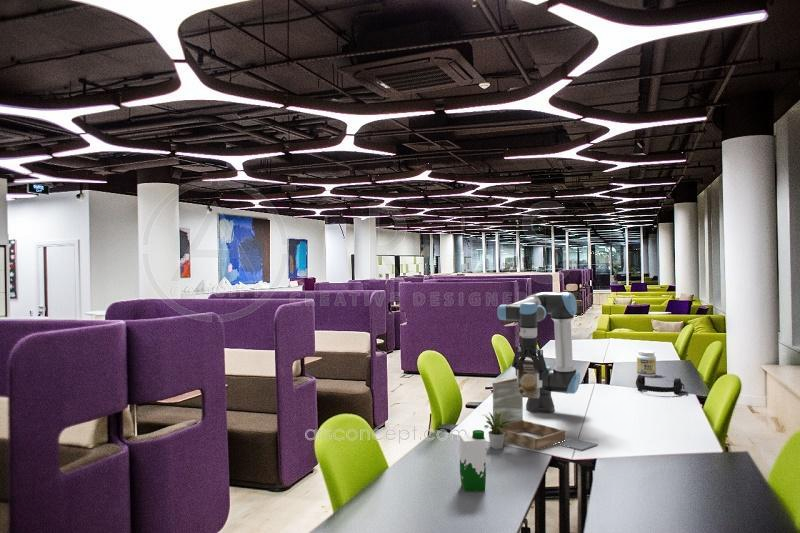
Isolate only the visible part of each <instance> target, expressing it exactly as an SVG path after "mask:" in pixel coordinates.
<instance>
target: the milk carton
mask: <svg viewBox="0 0 800 533" xmlns="http://www.w3.org/2000/svg"><path fill="white" fill-rule="evenodd" d="M486 447H487V442H486V438H485V431H484V430H482V429H481V430H480V429H475V430H472V434H469V433H468V434H460V435H459V476H460V482H461V483H460V484H461V486H462V488H463V490H464V492H465V493H470V492H473V493H474V492H486V480H487V479H486V478H487V454H486V453H487V451H486V450H487V449H486Z"/></svg>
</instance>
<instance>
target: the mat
mask: <svg viewBox="0 0 800 533" xmlns="http://www.w3.org/2000/svg"><path fill="white" fill-rule="evenodd" d="M558 444H561V445H565V446H569V447H572V448H575V449H574V450H576V449H577V450H576V451H579V450H580V452H584V451H586V450H588V448H589V449H591V447H592V448H594V447H597V446H598V443H595V442H593V441H589V440H588V441H587V440H584V439H579V438H576V437H572V438H569V439H565V441H563V442H560V443H557V445H558ZM561 445H560V446H561ZM596 445H597V446H596ZM565 446H564V447H565ZM593 446H594V447H593ZM569 447H568V448H569ZM572 448H571V449H572Z"/></svg>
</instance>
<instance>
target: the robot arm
mask: <svg viewBox="0 0 800 533" xmlns="http://www.w3.org/2000/svg"><path fill="white" fill-rule="evenodd" d="M577 313H578V302H577V299H576V296H575V295H574V293H572V292H566V291H543V292H537V293H533V294H531V295H528V296H526V297H525V298H524V299H522V300H519V301H516V302H513V303H510V304H506V303H504V304H500V305H498V306H497V312H496V314H497V318H498V320H500V321H505V322H506V321H513V322H514V321H518V322H520V323H519V325H520V326H519V328H520V330H519V331H520V332H519V333H520V338H519V339H520V342H519V344H520V346H516V347H514V349H515V353H514V356H513V360H512V365H511V367H512V368H513V369H515V376H516V378H517V384H519V361H520V360H526V358H530V360H533V362H534V363H535V366H536V368H537V370H538V373H537V388H540V396H539V398H527V400H526V403H525V409H526V410H527V411H528V412H533V413H541V414H542V413H543V414H545V413H553V412H554V411H555V403H554V400H553V397H552V392H553V393H561V394H570V395H571V394H576V393H577V391H578V389H579V385H580V382H581V375H580V372H579V371H577V367H576V366H575V365H574V364H573V362H574V361H573V343H572V342H573V340H572V339H573V338H572V337H573V336H572V320H573V319H574V316H576V314H577ZM547 315H550V319H551V320H552V321H553V327H554V329H553V330H554V348H555V365H554V367H553V369H552V367H551V366H549V365H548V366H547V365H546V361H545V358H544V350H543V349H538V348H537V347H538V337H537V336H538V322H539V323H540V322H541V321H543V320H544V319H545V318H546V316H547ZM538 363H539V364H538Z"/></svg>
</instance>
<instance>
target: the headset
mask: <svg viewBox="0 0 800 533" xmlns="http://www.w3.org/2000/svg"><path fill="white" fill-rule="evenodd" d="M666 381H667V382H668V381H669V380H668V379H666ZM672 382H673V386H655V385H653V386H652V385H646V377H644V376H642V375H638V374H637V377H636V380H635V387H636V388H637V390H638V391H643V390H644V391H648V392H654V393H674V394H677V395H679V394H681V392H682V390H686V389H685V384H684V383H683V382H682V381H681V378H680V377H679V378H678V377H677V378H676V377H675V378H674V379H673V380H672Z"/></svg>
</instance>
